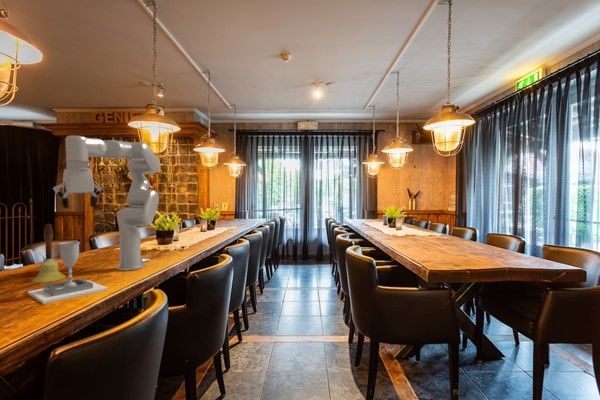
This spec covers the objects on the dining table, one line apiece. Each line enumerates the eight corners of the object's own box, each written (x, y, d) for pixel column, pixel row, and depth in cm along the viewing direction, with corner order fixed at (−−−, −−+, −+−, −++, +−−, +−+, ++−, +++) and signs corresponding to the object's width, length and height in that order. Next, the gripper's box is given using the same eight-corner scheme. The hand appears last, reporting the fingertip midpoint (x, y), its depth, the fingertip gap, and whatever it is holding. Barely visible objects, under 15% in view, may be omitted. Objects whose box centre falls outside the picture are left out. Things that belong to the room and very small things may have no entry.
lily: (50, 277, 150) (61, 258, 154) (22, 269, 146) (35, 250, 150) (56, 279, 160) (67, 261, 164) (30, 272, 156) (41, 254, 160)
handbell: (24, 283, 134) (24, 225, 134) (40, 277, 145) (39, 223, 145) (58, 281, 137) (57, 224, 137) (70, 274, 149) (70, 222, 149)
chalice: (55, 290, 120) (54, 243, 119) (74, 285, 125) (74, 241, 125) (64, 292, 116) (64, 244, 116) (84, 287, 122) (84, 242, 122)
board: (88, 282, 134) (88, 280, 134) (107, 290, 122) (107, 287, 122) (27, 293, 118) (27, 291, 118) (43, 304, 106) (43, 301, 106)
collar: (81, 283, 129) (80, 278, 129) (92, 288, 121) (92, 283, 121) (43, 290, 119) (43, 285, 119) (53, 296, 112) (53, 290, 112)
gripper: (97, 167, 138) (99, 205, 139) (49, 165, 124) (51, 208, 125) (104, 166, 134) (106, 206, 135) (55, 164, 120) (57, 208, 121)
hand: (79, 207), depth 130 cm, fingers open, 9 cm apart
